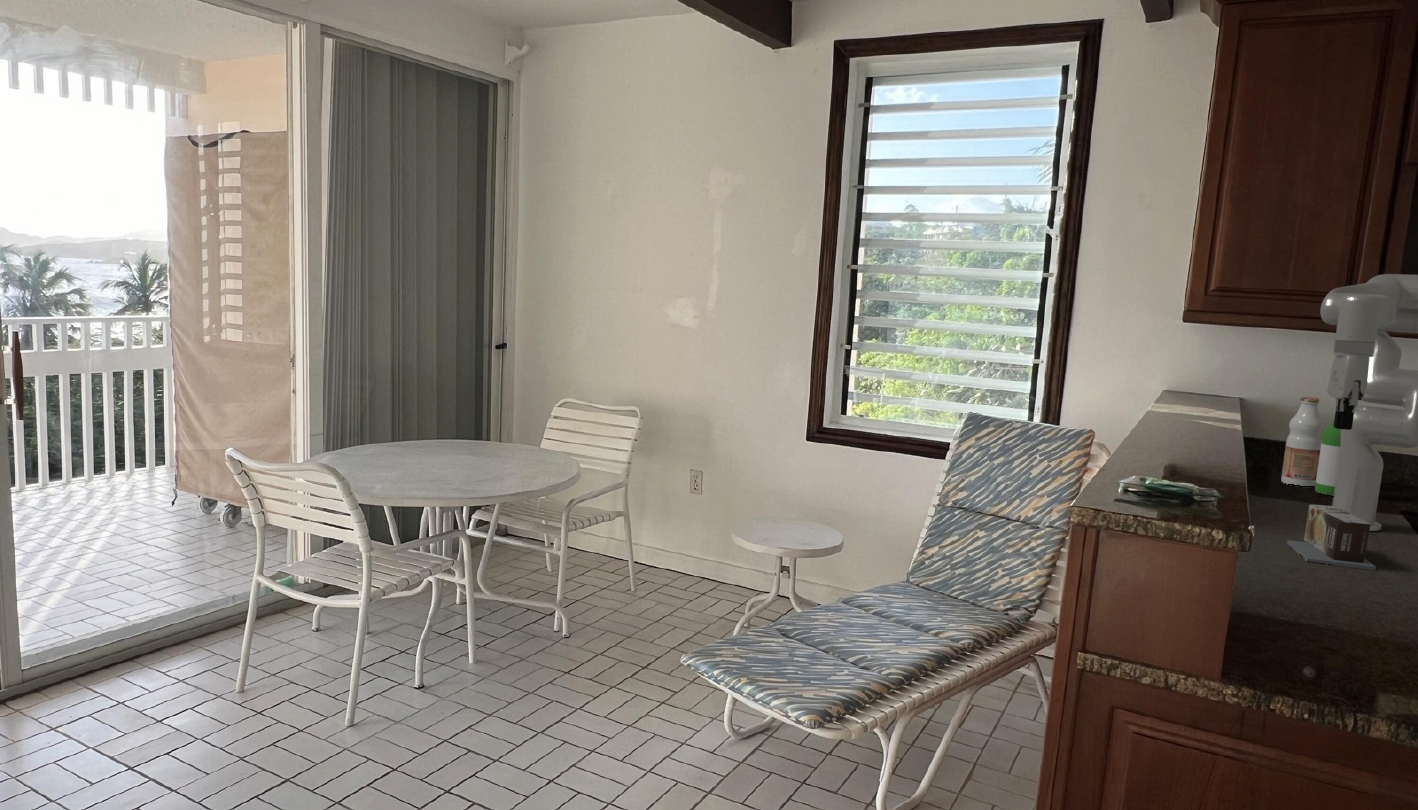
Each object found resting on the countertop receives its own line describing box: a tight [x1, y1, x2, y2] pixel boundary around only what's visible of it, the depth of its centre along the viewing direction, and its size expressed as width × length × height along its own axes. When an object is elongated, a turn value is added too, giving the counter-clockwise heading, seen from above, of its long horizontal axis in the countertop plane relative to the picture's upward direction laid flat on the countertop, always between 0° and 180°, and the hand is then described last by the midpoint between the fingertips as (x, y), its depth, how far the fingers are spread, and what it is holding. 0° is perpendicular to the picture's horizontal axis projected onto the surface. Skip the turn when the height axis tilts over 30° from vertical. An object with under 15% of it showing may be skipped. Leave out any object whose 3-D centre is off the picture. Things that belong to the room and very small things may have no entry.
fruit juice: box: [1280, 396, 1324, 487], centre depth 289 cm, size 9×9×28 cm
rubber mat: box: [1286, 539, 1377, 571], centre depth 208 cm, size 16×13×1 cm
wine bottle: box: [1314, 417, 1341, 496], centre depth 275 cm, size 8×8×30 cm
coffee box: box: [1303, 504, 1370, 562], centre depth 209 cm, size 9×6×16 cm
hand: (1342, 428), depth 209 cm, fingers closed
